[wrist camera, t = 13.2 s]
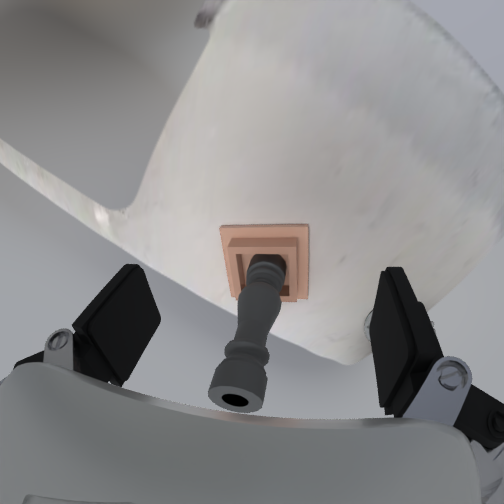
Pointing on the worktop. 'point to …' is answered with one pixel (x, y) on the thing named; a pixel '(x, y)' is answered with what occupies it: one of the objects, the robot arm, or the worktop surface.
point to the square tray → (267, 242)
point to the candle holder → (250, 338)
